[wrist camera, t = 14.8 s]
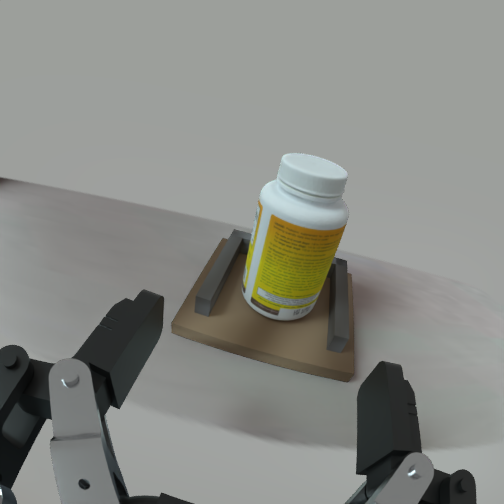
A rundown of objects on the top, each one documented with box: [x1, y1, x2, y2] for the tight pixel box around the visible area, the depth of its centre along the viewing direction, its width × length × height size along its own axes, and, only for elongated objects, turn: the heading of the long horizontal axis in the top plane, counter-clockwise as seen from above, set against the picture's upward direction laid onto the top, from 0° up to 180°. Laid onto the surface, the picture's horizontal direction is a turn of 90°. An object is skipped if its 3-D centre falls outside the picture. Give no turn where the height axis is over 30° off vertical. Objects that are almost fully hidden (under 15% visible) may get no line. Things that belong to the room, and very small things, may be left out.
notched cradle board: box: [172, 229, 354, 382], centre depth 23 cm, size 12×11×2 cm
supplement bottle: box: [242, 153, 349, 321], centre depth 20 cm, size 6×6×10 cm
